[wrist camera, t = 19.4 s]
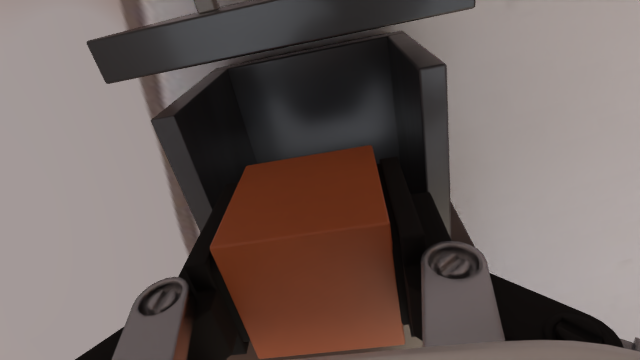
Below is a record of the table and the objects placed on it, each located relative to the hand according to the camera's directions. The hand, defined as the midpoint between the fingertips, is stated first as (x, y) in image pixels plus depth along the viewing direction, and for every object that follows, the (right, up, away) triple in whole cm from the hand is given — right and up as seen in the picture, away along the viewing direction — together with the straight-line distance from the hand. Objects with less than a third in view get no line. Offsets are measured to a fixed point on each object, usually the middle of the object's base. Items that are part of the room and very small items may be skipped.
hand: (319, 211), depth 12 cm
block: (0, 0, 0) cm, 0 cm away
